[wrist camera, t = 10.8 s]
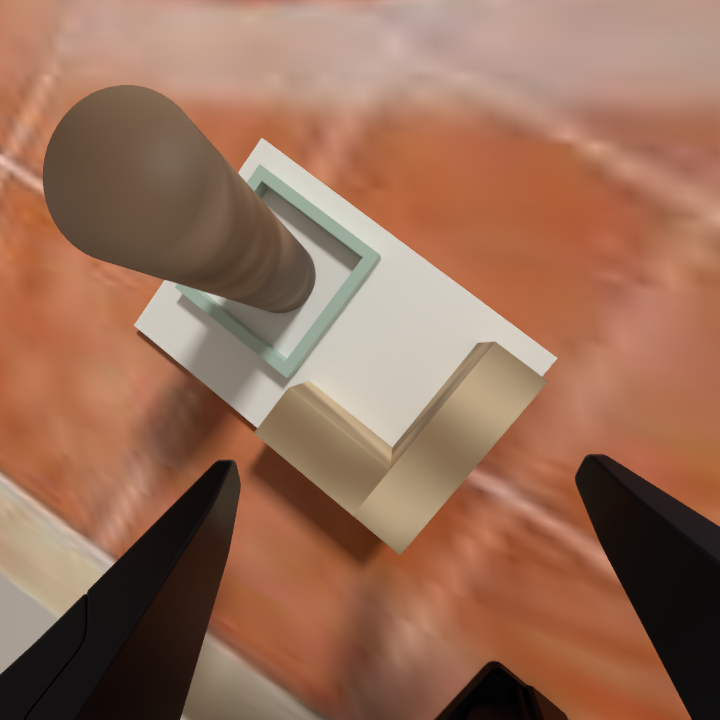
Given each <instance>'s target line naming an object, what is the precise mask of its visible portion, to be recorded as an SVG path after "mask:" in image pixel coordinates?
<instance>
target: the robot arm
mask: <svg viewBox="0 0 720 720" xmlns="http://www.w3.org/2000/svg"><path fill="white" fill-rule="evenodd" d="M575 482H576V486H577V488H578V491H579V493H580V495H581V498H582V500H583V503H584V505H585V508H586V510H587V513H588V515H589V518H590V520H591V522H592V525H593V527H594V530H595V532H596V535H597V537H598V539H599V541H600V544H601V546H602V548H603V550H604V552H605V554H606V556H607V557H608V559H609V561H610V563H611V565H612V567H613V569H614V571H615V573H616V575H617V577H618V579H619V580H620V582H621V584H622V586H623V588H624V590H625V592H626V594H627V596H628V598H629V600H630V602H631V604H632V605H633V607H634V609H635V611H636V613H637V615H638V617H639V619H640V621H641V623H642V625H643V627H644V629H645V630H646V632H647V634H648V636H649V638H650V640H651V642H652V644H653V646H654V648H655V650H656V652H657V654H658V655H659V657H660V659H661V661H662V663H663V665H664V667H665V669H666V671H667V673H668V675H669V677H670V678H671V680H672V682H673V684H674V686H675V688H676V690H677V692H678V694H679V696H680V698H681V700H682V702H683V703H684V705H685V707H686V709H687V711H688V713H689V715H690V717H691V719H692V720H720V527H719V526H718V525H716V524H715V523H713V522H711V521H710V520H708V519H707V518H705V517H703V516H702V515H700V514H699V513H697V512H696V511H694V510H692V509H691V508H689V507H688V506H686V505H684V504H683V503H681V502H680V501H678V500H676V499H675V498H673V497H672V496H670V495H669V494H667V493H665V492H664V491H662V490H661V489H659V488H657V487H656V486H654V485H653V484H651V483H649V482H648V481H646V480H645V479H643V478H642V477H640V476H638V475H637V474H635V473H634V472H632V471H630V470H629V469H627V468H626V467H624V466H622V465H621V464H619V463H618V462H616V461H615V460H613V459H611V458H610V457H608V456H606V455H603V454H589V455H587V456H585V458H584V460H583V461H582V463H581V465H580V467H579V469H578V471H577V473H576V476H575ZM240 488H241V483H240V478H239V474H238V469H237V465H236V462H235V461H234V460H218V461H216V462H215V463H214V464H213V465H212V466H211V467H210V468H209V469H208V470H207V471H206V472H205V473H204V474H203V475H202V476H201V477H200V478H199V479H198V480H197V481H196V482H195V483H194V484H193V485H192V486H191V487H190V488H189V489H188V490H187V491H186V492H185V493H184V494H183V495H182V496H181V497H180V498H179V499H178V500H177V501H176V502H175V503H174V504H173V505H172V506H171V507H170V508H169V509H168V510H167V511H166V512H165V513H164V514H163V515H162V516H161V517H160V518H159V519H158V520H157V521H156V522H155V523H154V524H153V525H152V526H151V527H150V528H149V529H148V530H147V531H146V532H145V533H144V534H143V535H142V536H141V537H140V538H139V539H138V540H137V541H136V542H135V544H134V545H133V546H132V547H131V548H130V549H129V550H128V551H127V552H126V553H125V554H124V555H123V556H122V557H121V558H120V559H119V560H118V561H117V562H116V563H115V564H114V565H113V566H112V567H111V568H110V569H109V570H108V571H107V572H106V573H105V574H104V575H103V576H102V577H101V578H100V579H99V580H98V581H97V582H96V583H95V584H94V585H93V586H92V587H91V588H90V589H89V590H88V592H87V594H84V595H83V596H82V597H81V598H80V599H79V600H78V601H77V602H76V603H75V604H74V605H73V606H72V607H71V608H70V609H69V610H68V611H67V612H66V613H65V614H64V615H63V616H62V617H61V618H60V619H59V620H58V621H57V622H56V623H55V624H54V625H53V626H52V627H51V628H50V629H49V630H47V631H46V632H45V633H44V634H43V635H42V636H41V637H40V639H38V640H37V641H36V642H35V643H34V644H33V645H32V646H31V647H30V648H29V649H28V650H26V651H25V652H24V653H23V654H22V655H21V656H20V657H19V658H18V659H17V660H16V661H15V662H14V663H12V664H11V665H10V666H9V667H8V668H7V669H6V670H5V671H4V672H2V673H1V674H0V720H180V718H181V715H182V712H183V708H184V705H185V701H186V698H187V695H188V691H189V688H190V684H191V681H192V677H193V674H194V671H195V667H196V664H197V660H198V657H199V654H200V650H201V647H202V643H203V640H204V637H205V633H206V630H207V626H208V623H209V620H210V616H211V613H212V609H213V606H214V602H215V599H216V596H217V592H218V589H219V585H220V582H221V579H222V575H223V572H224V568H225V565H226V561H227V558H228V554H229V549H230V544H231V539H232V534H233V528H234V522H235V517H236V511H237V506H238V500H239V495H240ZM495 672H500V673H498V674H496V673H495ZM438 720H568V718H567V716H566V715H565V713H564V712H562V711H561V710H560V709H559V708H558V707H556V706H555V705H554V704H553V703H552V702H550V701H549V700H548V699H547V698H546V697H545V696H543V695H542V694H541V693H540V692H539V691H537V690H536V689H535V688H534V687H532V686H530V685H526V684H525V683H524V682H523V681H522V680H520V679H519V678H518V677H517V676H516V675H514V674H513V673H512V672H511V671H510V670H509V669H507V668H506V667H505V666H504V665H503V664H501V663H500V662H496V661H495V662H492V663H490V664H489V665H488V666H487V667H486V668H485V669H484V670H483V672H482V673H481V674H480V675H479V676H478V677H477V678H476V679H475V680H474V681H473V682H472V683H471V684H470V686H469V687H468V688H467V689H466V690H465V691H464V692H463V693H462V694H461V695H460V696H459V697H458V698H457V700H456V701H455V702H454V703H453V704H452V705H451V706H450V707H449V708H448V709H447V710H446V711H445V712H444V714H443V715H442V716H441V717H440V718H439V719H438Z"/></svg>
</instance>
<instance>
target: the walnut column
mask: <svg viewBox="0 0 720 720" xmlns="http://www.w3.org/2000/svg"><path fill="white" fill-rule="evenodd" d="M43 187H44V194H45V199H46V203H47V206H48V209H49V212H50V214H51V216H52V218H53V220H54V222H55V224H56V225H57V227H58V229H59V230H60V232H61V233H62V234H63V235H64V236H65V238H66V239H67V240H68V241H69V242H70V243H72V244H73V245H74V246H75V247H76V248H78V249H79V250H81V251H82V252H83V253H85V254H87V255H89V256H91V257H93V258H96V259H99V260H102V261H105V262H109V263H112V264H115V265H118V266H122V267H125V268H128V269H131V270H135V271H138V272H141V273H145V274H148V275H151V276H154V277H158V278H161V279H164V280H167V281H171V282H174V283H177V284H180V285H184V286H187V287H190V288H194V289H197V290H200V291H203V292H207V293H210V294H213V295H216V296H220V297H223V298H226V299H229V300H233V301H236V302H239V303H242V304H246V305H249V306H252V307H256V308H259V309H262V310H265V311H269V312H273V313H285V312H290V311H292V310H295V309H297V308H298V307H300V306H301V305H302V304H303V303H304V302H305V301H306V300H307V299H308V298H309V296H310V295H311V293H312V291H313V288H314V285H315V280H316V270H315V265H314V262H313V260H312V258H311V256H310V254H309V253H308V251H307V250H306V249H305V248H304V247H303V246H302V245H301V244H300V242H299V241H298V240H297V239H296V238H295V237H294V236H293V235H292V233H291V232H290V231H289V230H288V229H287V228H286V227H285V226H284V224H283V223H282V222H281V221H280V220H279V219H278V218H277V217H276V215H275V214H274V213H273V212H272V211H271V210H270V209H269V208H268V206H267V205H266V204H265V203H264V202H263V201H262V200H261V198H260V197H259V196H258V195H257V194H256V193H255V192H254V191H253V189H252V188H251V187H250V186H249V185H248V184H247V183H246V182H245V180H244V179H243V178H242V177H241V176H240V175H239V174H238V173H237V171H236V170H235V169H234V168H233V167H232V166H231V165H230V164H229V162H228V161H227V160H226V159H225V158H224V157H223V156H222V155H221V153H220V152H219V151H218V150H217V149H216V148H215V147H214V146H213V144H212V143H211V142H210V141H209V140H208V139H207V138H206V137H205V135H204V134H203V133H202V132H201V131H200V130H199V129H198V128H197V126H196V125H195V124H194V123H193V122H192V121H191V120H190V119H189V117H188V116H187V115H186V114H185V113H184V112H183V111H182V109H181V108H180V107H179V106H177V105H176V104H175V103H174V102H173V101H172V100H170V99H169V98H167V97H166V96H164V95H162V94H160V93H158V92H156V91H154V90H151V89H148V88H144V87H140V86H133V85H120V86H113V87H108V88H105V89H102V90H99V91H97V92H94V93H92V94H90V95H88V96H87V97H85V98H84V99H82V100H80V101H79V102H78V103H77V104H76V105H74V106H73V107H72V108H71V109H70V110H69V111H68V112H67V113H66V115H65V116H64V117H63V118H62V120H61V121H60V122H59V124H58V125H57V127H56V129H55V131H54V133H53V134H52V137H51V139H50V142H49V144H48V147H47V151H46V155H45V160H44V166H43Z"/></svg>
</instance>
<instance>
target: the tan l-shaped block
mask: <svg viewBox="0 0 720 720" xmlns="http://www.w3.org/2000/svg"><path fill="white" fill-rule="evenodd" d="M547 382H548V381H547V380H546V379H544V378H543V377H542V376H540V375H539V374H538V373H537V372H535V371H534V370H533V369H531V368H530V367H529V366H527V365H526V364H525V363H523V362H522V361H521V360H519V359H518V358H517V357H515V356H514V355H513V354H511V353H510V352H509V351H507V350H506V349H505V348H503V347H502V346H501V345H499V344H498V343H497V342H482V343H477V344H476V345H475V347H474V348H473V349H472V350H471V351H470V353H469V354H468V355H467V356H466V358H465V359H464V360H463V361H462V363H461V364H460V365H459V366H458V367H457V369H456V370H455V371H454V372H453V374H452V375H451V376H450V377H449V379H448V380H447V381H446V382H445V383H444V385H443V386H442V387H441V388H440V390H439V391H438V392H437V393H436V394H435V396H434V397H433V398H432V399H431V401H430V402H429V403H428V404H427V406H426V407H425V408H424V409H423V410H422V412H421V413H420V414H419V415H418V417H417V418H416V419H415V420H414V422H413V423H412V424H411V425H410V426H409V428H408V429H407V430H406V431H405V433H404V434H403V435H402V436H401V437H400V439H399V440H398V441H397V442H396V444H395V445H394V446H393V447H391V446H390V445H389V444H387V443H386V442H385V441H384V440H382V439H381V438H380V437H379V436H377V435H376V434H375V433H374V432H372V431H371V430H370V429H369V428H368V427H366V426H365V425H364V424H363V423H361V422H360V421H359V420H358V419H356V418H355V417H354V416H353V415H351V414H350V413H349V412H348V411H346V410H345V409H344V408H343V407H341V406H340V405H339V404H338V403H336V402H335V401H334V400H333V399H332V398H330V397H329V396H328V395H327V394H325V393H324V392H323V391H322V390H320V389H319V388H318V387H317V386H315V385H314V384H313V383H312V382H310V381H307V382H304V383H301V384H298V385H295V386H292V387H289V388H288V389H287V390H286V391H285V393H284V394H283V395H282V397H281V398H280V399H279V401H278V402H277V403H276V405H275V406H274V407H273V409H272V410H271V411H270V413H269V414H268V415H267V417H266V418H265V419H264V421H263V422H262V423H261V424H260V426H259V427H258V428H257V430H256V431H255V432H254V434H255V435H257V436H258V437H259V438H260V439H261V440H263V441H264V442H265V443H266V444H267V445H269V446H270V447H271V448H272V449H273V450H275V451H276V452H277V453H278V454H279V455H281V456H282V457H283V458H284V459H285V460H287V461H288V462H289V463H290V464H291V465H292V466H294V467H295V468H296V469H297V470H298V471H300V472H301V473H302V474H303V475H304V476H306V477H307V478H308V479H309V480H310V481H312V482H313V483H314V484H315V485H316V486H318V487H319V488H320V489H321V490H322V491H324V492H325V493H326V494H327V495H328V496H330V497H331V498H332V499H333V500H334V501H336V502H337V503H338V504H339V505H340V506H342V507H343V508H344V509H345V510H346V511H348V512H349V513H350V514H351V515H352V516H354V517H355V518H356V519H357V520H358V521H360V522H361V523H362V524H363V525H364V526H366V527H367V528H368V529H369V530H370V531H372V532H373V533H374V534H375V535H376V536H378V537H379V538H380V539H381V540H382V541H384V542H385V543H386V544H387V545H388V546H390V547H391V548H392V549H393V550H394V551H396V552H397V553H398V554H399V555H401V554H402V552H403V551H404V550H405V549H406V548H407V547H408V545H409V544H410V543H411V542H412V541H413V539H414V538H415V537H416V536H417V535H418V534H419V532H420V531H421V530H422V529H423V528H424V527H425V525H426V524H427V523H428V522H429V521H430V520H431V518H432V517H433V516H434V515H435V514H436V513H437V511H438V510H439V509H440V508H441V507H442V505H443V504H444V503H445V502H446V501H447V500H448V498H449V497H450V496H451V495H452V494H453V493H454V491H455V490H456V489H457V488H458V487H459V486H460V484H461V483H462V482H463V481H464V480H465V478H466V477H467V476H468V475H469V474H470V473H471V471H472V470H473V469H474V468H475V467H476V466H477V464H478V463H479V462H480V461H481V460H482V459H483V457H484V456H485V455H486V454H487V453H488V452H489V450H490V449H491V448H492V447H493V446H494V444H495V443H496V442H497V441H498V440H499V439H500V437H501V436H502V435H503V434H504V433H505V432H506V430H507V429H508V428H509V427H510V426H511V425H512V423H513V422H514V421H515V420H516V419H517V417H518V416H519V415H520V414H521V413H522V412H523V410H524V409H525V408H526V407H527V406H528V405H529V403H530V402H531V401H532V400H533V399H534V398H535V396H536V395H537V394H538V393H539V392H540V391H541V389H542V388H543V387H544V386H545V385H546V383H547Z"/></svg>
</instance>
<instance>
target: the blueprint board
mask: <svg viewBox="0 0 720 720" xmlns="http://www.w3.org/2000/svg"><path fill="white" fill-rule="evenodd" d="M238 174H239V175H240V176H241V177H242V178H243V179H244V180H245V182H246V183H247V184H248V185H249V186H250V187H251V188H252V189H253V191H254V192H255V193H256V194H257V195H258V196H259V197H260V198H261V200H262V201H263V202H264V203H265V204H266V205H267V206H268V208H269V209H270V210H271V211H272V212H273V213H274V214H275V215H276V217H277V218H278V219H279V220H280V221H281V222H282V223H283V224H284V226H285V227H286V228H287V229H288V230H289V231H290V232H291V233H292V235H293V236H294V237H295V238H296V239H297V240H298V241H299V242H300V244H301V245H302V246H303V247H304V248H305V249H306V250H307V251H308V253H309V254H310V256H311V258H312V260H313V262H314V265H315V270H316V280H315V285H314V288H313V291H312V293H311V295H310V296H309V298H308V299H307V300H306V301H305V302H304V303H303V304H302V305H301V306H300V307H298V308H297V309H295V310H292V311H290V312H285V313H273V312H269V311H265V310H262V309H259V308H256V307H252V306H249V305H246V304H242V303H239V302H236V301H233V300H229V299H226V298H223V297H220V296H216V295H213V294H210V293H207V292H203V291H200V290H197V289H194V288H190V287H187V286H184V285H180V284H177V283H174V282H171V281H167V280H165V281H164V282H163V284H162V285H161V286H160V288H159V289H158V291H157V292H156V294H155V295H154V297H153V298H152V300H151V301H150V303H149V304H148V306H147V307H146V308H145V310H144V311H143V313H142V314H141V316H140V317H139V319H138V320H137V322H136V323H135V325H134V326H135V327H137V328H138V329H139V330H140V331H141V332H143V333H144V334H145V335H146V336H147V337H149V338H150V339H151V340H152V341H153V342H155V343H156V344H157V345H158V346H159V347H161V348H162V349H163V350H164V351H165V352H167V353H168V354H169V355H170V356H171V357H173V358H174V359H175V360H176V361H177V362H179V363H180V364H181V365H182V366H183V367H185V368H186V369H187V370H188V371H189V372H191V373H192V374H193V375H194V376H195V377H197V378H198V379H199V380H200V381H201V382H203V383H204V384H205V385H206V386H207V387H209V388H210V389H211V390H212V391H213V392H215V393H216V394H217V395H218V396H219V397H221V398H222V399H223V400H224V401H225V402H227V403H228V404H229V405H230V406H231V407H233V408H234V409H235V410H236V411H237V412H239V413H240V414H241V415H242V416H243V417H245V418H246V419H247V420H248V421H249V422H251V423H252V424H253V425H254V426H255V427H257V428H258V427H259V426H260V424H261V423H262V422H263V421H264V419H265V418H266V417H267V415H268V414H269V413H270V411H271V410H272V409H273V407H274V406H275V405H276V403H277V402H278V401H279V399H280V398H281V397H282V395H283V394H284V393H285V391H286V390H287V389H288V388H289V387H292V386H295V385H298V384H301V383H304V382H307V381H310V382H312V383H313V384H314V385H315V386H317V387H318V388H319V389H320V390H322V391H323V392H324V393H325V394H327V395H328V396H329V397H330V398H332V399H333V400H334V401H335V402H336V403H338V404H339V405H340V406H341V407H343V408H344V409H345V410H346V411H348V412H349V413H350V414H351V415H353V416H354V417H355V418H356V419H358V420H359V421H360V422H361V423H363V424H364V425H365V426H366V427H368V428H369V429H370V430H371V431H372V432H374V433H375V434H376V435H377V436H379V437H380V438H381V439H382V440H384V441H385V442H386V443H387V444H389V445H390V446H391V447H393V446H394V445H395V444H396V442H397V441H398V440H399V439H400V437H401V436H402V435H403V434H404V433H405V431H406V430H407V429H408V428H409V426H410V425H411V424H412V423H413V422H414V420H415V419H416V418H417V417H418V415H419V414H420V413H421V412H422V410H423V409H424V408H425V407H426V406H427V404H428V403H429V402H430V401H431V399H432V398H433V397H434V396H435V394H436V393H437V392H438V391H439V390H440V388H441V387H442V386H443V385H444V383H445V382H446V381H447V380H448V379H449V377H450V376H451V375H452V374H453V372H454V371H455V370H456V369H457V367H458V366H459V365H460V364H461V363H462V361H463V360H464V359H465V358H466V356H467V355H468V354H469V353H470V351H471V350H472V349H473V348H474V347H475V345H476V344H477V343H482V342H497V343H498V344H499V345H501V346H502V347H503V348H505V349H506V350H507V351H509V352H510V353H511V354H513V355H514V356H515V357H517V358H518V359H519V360H521V361H522V362H523V363H525V364H526V365H527V366H529V367H530V368H531V369H533V370H534V371H535V372H537V373H538V374H539V375H540V376H543V375H544V373H545V372H546V371H547V370H548V369H549V368H550V366H551V365H552V364H553V363H554V362H555V361H556V359H557V358H556V357H555V356H554V355H552V354H551V353H550V352H548V351H547V350H546V349H544V348H543V347H542V346H540V345H539V344H538V343H536V342H535V341H534V340H532V339H531V338H530V337H528V336H527V335H526V334H524V333H523V332H522V331H520V330H519V329H518V328H516V327H515V326H514V325H512V324H511V323H510V322H508V321H507V320H505V319H504V318H503V317H501V316H500V315H499V314H497V313H496V312H495V311H493V310H492V309H491V308H489V307H488V306H487V305H485V304H484V303H483V302H481V301H480V300H479V299H477V298H476V297H475V296H473V295H472V294H471V293H469V292H468V291H467V290H465V289H464V288H463V287H461V286H460V285H459V284H457V283H456V282H455V281H453V280H452V279H451V278H449V277H448V276H446V275H445V274H444V273H442V272H441V271H440V270H438V269H437V268H436V267H434V266H433V265H432V264H430V263H429V262H428V261H426V260H425V259H424V258H422V257H421V256H420V255H418V254H417V253H416V252H414V251H413V250H412V249H410V248H409V247H408V246H406V245H405V244H404V243H402V242H401V241H400V240H398V239H397V238H396V237H394V236H393V235H392V234H390V233H389V232H387V231H386V230H385V229H383V228H382V227H381V226H379V225H378V224H377V223H375V222H374V221H373V220H371V219H370V218H369V217H367V216H366V215H365V214H363V213H362V212H361V211H359V210H358V209H357V208H355V207H354V206H353V205H351V204H350V203H349V202H347V201H346V200H345V199H343V198H342V197H341V196H339V195H338V194H337V193H335V192H334V191H332V190H331V189H330V188H328V187H327V186H326V185H324V184H323V183H322V182H320V181H319V180H318V179H316V178H315V177H314V176H312V175H311V174H310V173H308V172H307V171H306V170H304V169H303V168H302V167H300V166H299V165H298V164H296V163H295V162H294V161H292V160H291V159H290V158H288V157H287V156H286V155H284V154H283V153H282V152H280V151H279V150H278V149H276V148H275V147H273V146H272V145H271V144H269V143H268V142H267V141H265V140H264V139H263V138H261V140H260V141H259V143H258V144H257V146H256V147H255V149H254V150H253V152H252V153H251V154H250V156H249V157H248V159H247V160H246V162H245V163H244V165H243V166H242V168H241V169H240V171H239V172H238Z"/></svg>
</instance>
